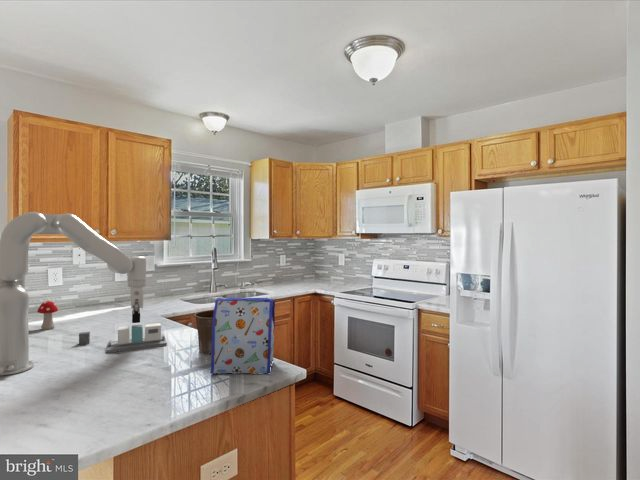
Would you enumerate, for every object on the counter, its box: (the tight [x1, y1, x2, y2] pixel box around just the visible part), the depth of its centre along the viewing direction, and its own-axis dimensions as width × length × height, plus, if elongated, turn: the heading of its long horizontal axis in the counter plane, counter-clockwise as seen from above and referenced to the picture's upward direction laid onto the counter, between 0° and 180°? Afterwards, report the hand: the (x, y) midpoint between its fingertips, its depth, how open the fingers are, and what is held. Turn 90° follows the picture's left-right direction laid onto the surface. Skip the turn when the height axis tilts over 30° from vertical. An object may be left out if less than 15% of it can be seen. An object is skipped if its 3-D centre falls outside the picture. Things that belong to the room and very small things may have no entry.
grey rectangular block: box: [78, 331, 91, 346], centre depth 171 cm, size 3×4×5 cm
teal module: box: [131, 324, 144, 343], centre depth 169 cm, size 6×4×7 cm
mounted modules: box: [117, 322, 162, 344], centre depth 169 cm, size 6×18×6 cm, turn 117°
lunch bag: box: [210, 297, 276, 375], centre depth 139 cm, size 23×17×27 cm
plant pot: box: [194, 309, 214, 355], centre depth 161 cm, size 16×16×16 cm
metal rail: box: [107, 334, 166, 347], centre depth 169 cm, size 4×23×2 cm, turn 117°
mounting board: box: [105, 335, 168, 354], centre depth 169 cm, size 14×24×1 cm, turn 117°
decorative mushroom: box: [37, 300, 59, 331], centre depth 199 cm, size 10×9×15 cm
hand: (136, 320), depth 168 cm, fingers open, 9 cm apart
